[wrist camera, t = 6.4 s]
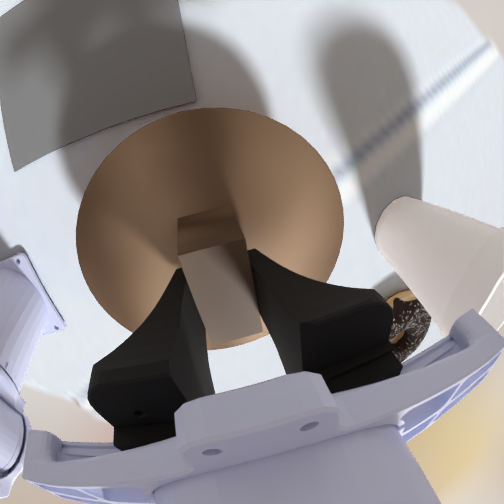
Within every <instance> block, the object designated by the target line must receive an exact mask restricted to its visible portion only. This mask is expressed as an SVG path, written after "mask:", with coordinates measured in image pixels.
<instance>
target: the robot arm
mask: <svg viewBox="0 0 504 504" xmlns="http://www.w3.org/2000/svg"><path fill="white" fill-rule="evenodd" d="M248 255H249V261H250V266H251V271H252V276H253V282H254V287H255V292H256V297H257V302H258V308H259V313H260V316H261V318H262V320H263V322H264V323H265V325H266V327H267V329H268V331H269V333H270V335H271V337H272V339H273V341H274V343H275V346H276V348H277V350H278V353H279V356H280V358H281V361H282V364H283V366H284V369H285V372H286V374H287V375H284V376H281V377H277V378H274V379H271V380H267V381H264V382H261V383H257V384H253V385H250V386H246V387H242V388H239V389H235V390H231V391H227V392H222V393H218V394H215V391H214V387H213V382H212V378H211V373H210V368H209V362H208V353H207V341H206V329H205V326H204V324H203V321H202V319H201V316H200V314H199V311H198V309H197V306H196V304H195V301H194V299H193V296H192V293H191V291H190V288H189V285H188V283H187V280H186V277H185V275H184V272H183V269H182V268H178V269H176V271H175V272H174V274H173V276H172V278H171V280H170V282H169V284H168V286H167V287H166V289H165V291H164V293H163V295H162V296H161V298H160V299H159V301H158V303H157V304H156V306H155V307H154V309H153V310H152V312H151V313H150V314H149V316H148V317H147V318H146V319H145V321H144V322H143V323H142V324H141V325H140V326H139V327H138V328H137V329H136V330H135V331H134V333H133V334H132V335H131V336H130V337H129V338H128V339H127V340H125V341H124V342H123V343H122V344H121V345H120V346H119V347H117V348H116V349H115V350H114V351H112V352H111V353H110V354H108V355H107V356H105V357H104V358H103V359H101V360H100V361H98V362H97V363H95V364H94V365H93V369H92V373H91V378H90V383H89V389H88V401H89V403H90V405H91V406H92V407H93V408H94V409H95V411H96V412H97V413H99V414H100V415H101V416H102V417H103V418H104V419H105V420H106V421H108V422H109V423H110V424H111V425H112V426H113V427H114V442H112V443H89V442H86V443H85V442H66V441H61V439H59V438H58V437H57V436H56V435H54V434H52V433H50V432H47V431H40V430H32V429H31V425H30V422H29V420H28V418H27V417H26V415H25V414H24V413H23V411H24V407H25V403H26V402H25V401H24V400H23V399H22V398H21V397H20V391H21V388H22V385H23V382H24V379H25V376H26V374H27V371H28V368H29V365H30V363H31V360H32V358H33V355H34V353H35V350H36V348H37V345H38V343H39V340H40V338H41V336H42V335H44V334H49V333H54V332H59V331H64V330H65V328H66V324H65V323H64V321H63V320H62V318H61V316H60V315H59V313H58V312H57V310H56V309H55V307H54V305H53V304H52V302H51V300H50V299H49V297H48V295H47V293H46V292H45V290H44V288H43V286H42V284H41V283H40V281H39V279H38V277H37V275H36V273H35V271H34V269H33V267H32V265H31V263H30V261H29V259H28V257H27V255H26V254H25V253H19V254H17V255H14V256H12V257H10V258H8V259H5V260H3V261H1V262H0V498H5V497H8V496H9V493H10V490H11V487H12V485H13V483H14V481H15V479H16V478H17V476H18V475H19V474H20V473H21V472H22V471H23V475H22V477H23V479H24V480H26V481H28V482H30V483H32V484H34V485H35V486H37V487H39V488H41V489H43V490H45V491H48V492H50V493H52V494H54V495H56V496H58V497H61V498H63V499H67V500H71V501H76V502H81V503H86V504H441V502H440V501H439V499H438V497H437V495H436V494H435V492H434V490H433V488H432V487H431V485H430V483H429V481H428V480H427V478H426V476H425V474H424V473H423V471H422V469H421V468H420V466H419V464H418V462H417V461H416V459H415V457H414V456H413V454H412V452H411V451H410V449H409V447H408V446H407V444H406V442H408V441H409V440H411V439H412V438H413V437H415V436H416V435H418V434H419V433H420V432H422V431H423V430H425V429H426V428H427V427H429V426H430V425H431V424H433V423H434V422H435V421H437V420H438V419H439V418H440V417H442V416H443V415H444V414H445V413H447V412H448V411H449V410H450V409H451V408H452V407H454V406H455V405H456V404H457V403H458V402H460V401H461V400H462V399H463V398H464V397H465V396H466V395H467V394H469V393H470V392H471V391H472V390H473V389H474V388H475V387H476V386H477V385H479V384H480V383H481V382H482V381H483V380H484V378H485V377H486V376H487V374H488V373H489V372H490V370H491V369H492V367H493V366H494V364H495V363H496V361H497V360H498V358H499V357H500V355H501V353H502V352H503V350H504V338H503V337H502V336H501V335H500V334H499V333H498V332H497V331H496V330H495V329H494V328H493V327H492V326H491V325H490V324H489V323H488V322H487V321H486V320H485V319H484V318H483V317H482V316H481V315H479V314H478V313H477V312H476V311H475V310H474V309H470V310H469V311H467V312H466V313H464V314H463V315H462V316H460V317H459V318H458V319H456V320H455V322H454V323H453V325H452V327H451V329H450V332H449V335H448V336H446V337H445V338H443V339H441V340H440V341H438V342H437V343H435V344H434V345H432V346H430V347H429V348H427V349H426V350H424V351H422V352H421V353H419V354H417V355H415V356H414V357H412V358H410V359H408V360H407V361H405V362H403V363H401V362H400V361H399V360H398V358H397V357H396V356H395V354H394V353H393V352H392V351H393V350H394V347H393V345H392V344H391V342H390V341H389V336H390V332H391V328H392V324H393V318H394V312H393V309H392V307H391V306H390V305H389V304H388V303H387V302H386V300H385V299H384V298H383V297H382V296H381V295H380V294H379V293H378V292H376V291H375V290H374V289H361V288H350V287H343V286H337V285H332V284H328V283H324V282H320V281H316V280H313V279H310V278H308V277H305V276H302V275H300V274H297V273H295V272H293V271H291V270H289V269H287V268H285V267H283V266H281V265H280V264H278V263H276V262H275V261H273V260H271V259H270V258H268V257H267V256H265V255H264V254H263V253H261V252H260V251H258V250H257V249H255V248H254V249H250V250H248ZM18 259H19V260H20V262H19V261H18ZM57 326H58V327H57Z"/></svg>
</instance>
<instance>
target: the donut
mask: <svg viewBox="0 0 504 504" xmlns="http://www.w3.org/2000/svg"><path fill="white" fill-rule="evenodd" d="M386 302H387V303H388V304H389V305H390V306H391V307H392V309H393V312H394V318H393V324H392V328H391V332H390V336H389V341H390V342H391V344H392V345H393V347H394V350H393V351H392V352H393V353H394V354H395V356H396V357H397V358H398V360H399V361H400V362H403V361H404V360H405V359H406V358H407V357H408V356H409V355H411V354H412V353H413V352H414V351H415V350H416V349H417V348H418V347H419V345H420V343H421V342H422V340H423V339H424V338H425V335H426V333H427V332H428V328H429V326H430V322H431V316H430V315H429V313H428V312H427V311H426V309H425V308H424V307H423V305H422V304H421V303H420V301H419V300H418V299H417V298H416V296H415V295H414V294H413V292H412V291H411V290H407V291H403V292H399V293H397V294H396V295H394V296H392V297H391V298H389V299H388V300H387V301H386Z"/></svg>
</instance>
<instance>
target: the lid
mask: <svg viewBox="0 0 504 504" xmlns="http://www.w3.org/2000/svg"><path fill="white" fill-rule="evenodd" d="M343 229H344V216H343V206H342V201H341V196H340V192H339V189H338V186H337V184H336V181H335V178H334V176H333V175H332V173H331V171H330V169H329V167H328V165H327V164H326V162H325V161H324V160H323V158H322V157H321V156H320V154H319V153H318V152H317V151H316V149H315V148H313V147H312V146H311V145H310V144H309V143H308V142H307V141H306V140H305V139H304V138H303V137H302V136H300V135H299V134H297V133H296V132H294V131H293V130H292V129H290V128H289V127H287V126H285V125H283V124H281V123H279V122H277V121H275V120H273V119H271V118H269V117H266V116H262V115H259V114H256V113H252V112H249V111H243V110H236V109H229V108H200V109H194V110H188V111H182V112H179V113H175V114H172V115H169V116H166V117H164V118H161V119H159V120H156V121H155V122H153V123H151V124H149V125H147V126H145V127H143V128H141V129H139V130H138V131H136V132H135V133H134V134H132V135H131V136H130V137H128V138H127V139H126V140H124V141H123V142H122V143H120V144H119V145H118V146H117V147H116V148H115V149H114V150H113V151H112V152H111V153H110V154H109V155H108V156H107V157H106V158H105V160H104V161H103V162H102V164H101V165H100V167H99V168H98V169H97V171H96V172H95V174H94V175H93V177H92V179H91V181H90V183H89V185H88V187H87V189H86V191H85V193H84V196H83V199H82V202H81V205H80V209H79V213H78V219H77V226H76V247H77V254H78V260H79V264H80V267H81V270H82V273H83V276H84V279H85V281H86V283H87V285H88V287H89V289H90V291H91V292H92V294H93V295H94V297H95V298H96V300H97V301H98V303H99V304H100V305H101V306H102V307H103V309H104V310H105V311H106V312H107V313H108V314H109V315H110V316H111V317H112V318H113V319H115V320H116V321H117V322H118V323H119V324H121V325H122V326H124V327H125V328H126V329H128V330H129V331H131V332H133V333H134V331H135V330H136V329H137V328H138V327H139V326H140V325H141V324H142V323H143V322H144V321H145V319H146V318H147V317H148V316H149V314H150V313H151V312H152V310H153V309H154V307H155V306H156V304H157V303H158V301H159V299H160V298H161V296H162V295H163V293H164V291H165V289H166V287H167V286H168V284H169V282H170V280H171V278H172V276H173V274H174V272H175V271H176V269H178V268H182V269H183V272H184V275H185V277H186V280H187V283H188V285H189V288H190V291H191V293H192V296H193V299H194V301H195V304H196V306H197V309H198V311H199V314H200V316H201V319H202V321H203V324H204V326H205V329H206V341H207V350H215V349H223V348H229V347H234V346H238V345H242V344H245V343H248V342H251V341H254V340H257V339H259V338H261V337H264V336H266V335H268V334H270V333H269V331H268V329H267V327H266V325H265V323H264V322H263V320H262V318H261V316H260V313H259V308H258V302H257V297H256V292H255V287H254V282H253V276H252V271H251V266H250V261H249V255H248V250H250V249H254V248H255V249H257V250H258V251H260V252H261V253H263V254H264V255H265V256H267V257H268V258H270V259H271V260H273V261H275V262H276V263H278V264H280V265H281V266H283V267H285V268H287V269H289V270H291V271H293V272H295V273H297V274H300V275H302V276H305V277H308V278H310V279H313V280H316V281H320V282H324V283H326V282H327V280H328V279H329V277H330V275H331V273H332V271H333V269H334V267H335V264H336V261H337V258H338V256H339V253H340V248H341V244H342V239H343Z"/></svg>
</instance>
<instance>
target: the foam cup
mask: <svg viewBox="0 0 504 504" xmlns="http://www.w3.org/2000/svg"><path fill="white" fill-rule="evenodd" d="M374 239H375V242H376V246H377V250H378V251H379V252H380V253H381V255H382V256H383V257H384V258H385V260H386V261H387V262H388V263H389V264H390V265H391V267H392V268H393V269H394V270H395V271H396V273H397V274H398V275H399V276H400V277H401V279H402V280H403V281H404V282H405V284H406V285H407V286H408V287H409V289H410V290H411V291H412V292H413V294H414V295H415V296H416V298H417V299H418V300H419V301H420V303H421V304H422V305H423V307H424V308H425V309H426V311H427V312H428V313H429V315H430V316H431V318H432V319H433V320H434V322H435V323H436V324H437V326H438V327H439V329H440V330H441V336H442V337H443V338H445V337H446V336H448V335H449V332H450V329H451V327H452V325H453V323H454V322H455V320H456V319H458V318H459V317H460V316H462V315H463V314H464V313H466V312H467V311H469V310H470V309H474V310H475V311H476V312H477V313H478V314H479V315H481V316H482V317H483V318H484V319H485V320H486V321H487V322H488V323H489V324H490V325H491V326H492V327H493V328H494V329H495V330H496V331H498V330H499V329H500V327H501V326H502V325H503V323H504V228H503V227H501V228H500V229H499V228H496V227H494V226H492V225H489V224H487V223H484V222H481V221H479V220H476V219H474V218H471V217H468V216H465V215H463V214H460V213H457V212H454V211H451V210H448V209H446V208H443V207H440V206H436V205H433V204H430V203H427V202H424V201H421V200H417V199H414V198H410V197H406V196H403V197H401V198H398V199H395V200H393V201H392V202H391V203H390V204H389V205H388V206H387V207H386V208H385V209H384V210H383V212H382V214H381V216H380V218H379V220H378V222H377V225H376V232H375V238H374Z"/></svg>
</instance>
